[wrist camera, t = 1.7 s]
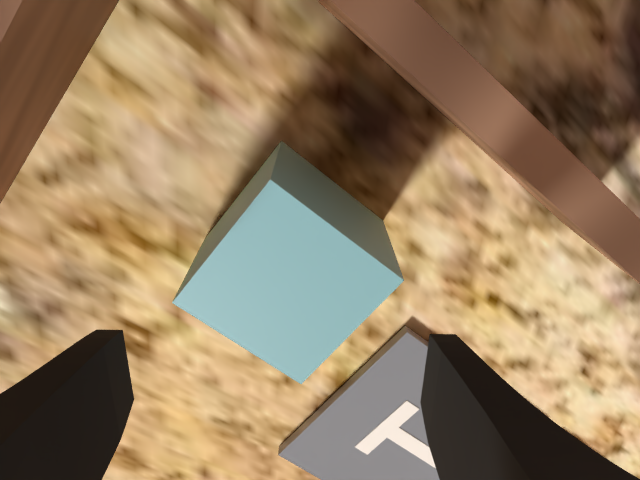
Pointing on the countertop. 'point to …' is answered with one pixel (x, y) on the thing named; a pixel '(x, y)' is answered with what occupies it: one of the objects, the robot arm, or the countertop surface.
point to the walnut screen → (391, 46)
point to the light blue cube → (291, 267)
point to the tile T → (371, 421)
